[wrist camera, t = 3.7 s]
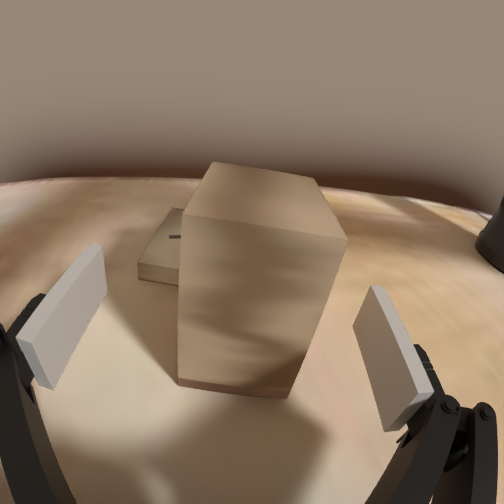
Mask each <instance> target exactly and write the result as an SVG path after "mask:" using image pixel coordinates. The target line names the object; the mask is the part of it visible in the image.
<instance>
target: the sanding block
mask: <svg viewBox="0 0 504 504" xmlns="http://www.w3.org/2000/svg"><path fill="white" fill-rule="evenodd" d="M347 242H348V238H347V236H346V235H345V233H344V231H343V229H342V227H341V225H340V224H339V222H338V220H337V218H336V216H335V215H334V213H333V211H332V209H331V207H330V206H329V204H328V202H327V200H326V199H325V197H324V195H323V193H322V192H321V190H320V188H319V187H318V185H317V184H316V181H315V180H314V178H309V177H304V176H299V175H293V174H288V173H282V172H277V171H271V170H265V169H259V168H252V167H246V166H240V165H233V164H226V163H218V162H213V163H212V164H211V166H210V168H209V169H208V171H207V173H206V174H205V176H204V177H203V179H202V181H201V182H200V184H199V186H198V187H197V189H196V191H195V193H194V194H193V196H192V198H191V199H190V201H189V203H188V205H187V206H186V208H185V210H184V212H183V213H182V226H181V243H180V263H179V289H178V386H183V387H188V388H195V389H201V390H207V391H214V392H222V393H229V394H238V395H247V396H257V397H268V398H280V399H287V397H288V395H289V393H290V390H291V388H292V386H293V384H294V381H295V379H296V377H297V375H298V372H299V370H300V368H301V365H302V363H303V360H304V358H305V356H306V353H307V351H308V348H309V346H310V343H311V341H312V338H313V336H314V333H315V331H316V328H317V326H318V323H319V321H320V318H321V316H322V313H323V310H324V308H325V305H326V302H327V300H328V297H329V294H330V291H331V289H332V286H333V283H334V280H335V277H336V275H337V272H338V269H339V266H340V263H341V260H342V257H343V254H344V251H345V248H346V245H347Z"/></svg>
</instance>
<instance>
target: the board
mask: <svg viewBox="0 0 504 504" xmlns="http://www.w3.org/2000/svg"><path fill="white" fill-rule="evenodd" d="M184 210H185V209H178V208H172V209H171V211H170V212H169V214H168V215H167V217H166V218H165V220H164V221H163V223H162V224H161V226H160V227H159V229H158V230H157V232H156V234H155V235H154V237H153V238H152V240H151V241H150V243H149V245H148V246H147V248H146V249H145V251H144V253H143V254H142V256H141V258H140V259H139V261H138V279H143V280H149V281H155V282H161V283H167V284H173V285H179V263H180V243H181V226H182V213H183V212H184Z"/></svg>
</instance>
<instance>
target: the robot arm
mask: <svg viewBox="0 0 504 504" xmlns="http://www.w3.org/2000/svg"><path fill="white" fill-rule="evenodd" d="M475 246H476V248H477V250H478V251H479V252H480V253H481V254H482V255H483V256H484V257H485V258H486V259H487V260H488V261H489V262H490V263H491V264H493V265H494V266H495V267H497V268H498V269H499V270H501V271H502V272H504V195H503V198H502V201H501V203H500V206H499V208H498V210H497V212H496V213H495V214H494V215H493V217H492V218H491V219H490V221H489V222H488V224H487V225H486V227H485V228H484V229H483V230H481V232H480V233H479V235H478V238H477V240H476V242H475ZM107 292H108V291H107V283H106V275H105V266H104V256H103V246H98V245H92V244H89V245H88V246H87V247H86V248H85V249H84V250H83V252H82V253H81V254H80V255H79V256H78V257H77V258H76V260H75V261H74V262H73V263H72V264H71V265H70V267H69V268H68V269H67V270H66V271H65V273H64V274H63V275H62V276H61V278H60V279H59V280H58V281H57V282H56V284H55V285H54V286H53V287H52V289H51V290H50V291H49V293H48V294H47V295H46V294H42V293H40V294H39V295H37V296H36V297H34V298H33V299H31V301H30V302H29V303H28V304H27V306H26V307H25V309H23V311H22V312H21V315H19V316H18V317H17V319H16V320H15V321H14V323H13V324H12V325H11V327H10V328H9V330H8V331H7V332H5V330H4V328H3V325H2V324H1V323H0V458H1V462H2V465H3V469H4V472H5V475H6V478H7V481H8V484H9V487H10V490H11V493H12V496H13V498H14V501H15V504H77V503H76V501H75V499H74V497H73V495H72V493H71V491H70V489H69V487H68V484H67V482H66V480H65V478H64V476H63V473H62V471H61V469H60V466H59V464H58V462H57V459H56V457H55V454H54V452H53V449H52V446H51V444H50V441H49V438H48V435H47V433H46V430H45V427H44V424H43V421H42V417H41V414H40V411H39V408H38V404H37V401H36V397H35V394H34V390H33V387H32V385H31V381H32V379H33V377H35V379H36V381H37V383H38V384H39V385H40V386H43V387H45V388H48V389H51V390H53V391H54V389H55V387H56V385H57V383H58V381H59V379H60V377H61V375H62V373H63V371H64V369H65V367H66V365H67V363H68V361H69V359H70V357H71V356H72V354H73V352H74V350H75V348H76V346H77V344H78V343H79V341H80V339H81V337H82V335H83V333H84V332H85V330H86V328H87V326H88V325H89V323H90V321H91V319H92V318H93V316H94V314H95V312H96V311H97V309H98V307H99V306H100V304H101V302H102V300H103V299H104V297H105V295H106V294H107ZM353 329H354V332H355V335H356V338H357V341H358V344H359V348H360V351H361V354H362V357H363V360H364V364H365V367H366V370H367V373H368V377H369V380H370V383H371V387H372V390H373V394H374V397H375V401H376V404H377V408H378V412H379V415H380V419H381V423H382V426H383V430H384V432H390V431H398V430H400V429H401V428H402V427H403V426H404V425H405V424H406V423H407V426H408V430H407V431H406V432H405V433H404V434H403V435H402V436H401V437H400V438H399V439H398V440H397V442H396V443H399V442H400V441H401V442H400V444H399V446H398V448H397V450H396V452H395V454H394V455H393V457H392V459H391V461H390V463H389V464H388V466H387V468H386V470H385V472H384V473H383V475H382V477H381V478H380V480H379V482H378V483H377V485H376V487H375V488H374V490H373V491H372V493H371V494H370V496H369V498H368V499H367V501H366V502H365V504H429V502H430V500H431V498H432V495H433V498H432V503H431V504H496V495H497V477H498V440H497V421H496V414H495V411H494V410H493V408H492V407H491V406H490V405H489V404H487V403H485V402H480V403H478V404H477V405H476V406H475V407H474V408H473V409H470V408H465V407H460V404H459V403H458V401H457V400H456V399H455V398H454V397H452V396H450V395H445V393H444V390H443V388H442V386H441V384H440V381H439V379H438V377H437V375H436V373H435V371H434V370H433V366H432V364H431V363H430V360H429V358H428V356H427V354H426V352H425V351H424V350H423V349H422V348H421V346H420V345H419V344H413V343H412V341H411V339H410V337H409V335H408V333H407V331H406V329H405V327H404V325H403V323H402V321H401V319H400V317H399V315H398V313H397V311H396V309H395V307H394V305H393V303H392V301H391V299H390V297H389V295H388V293H387V292H386V290H385V288H384V286H376V285H370V288H369V290H368V292H367V295H366V297H365V299H364V302H363V304H362V306H361V308H360V311H359V313H358V315H357V317H356V319H355V322H354V324H353ZM467 448H468V449H467Z"/></svg>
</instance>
